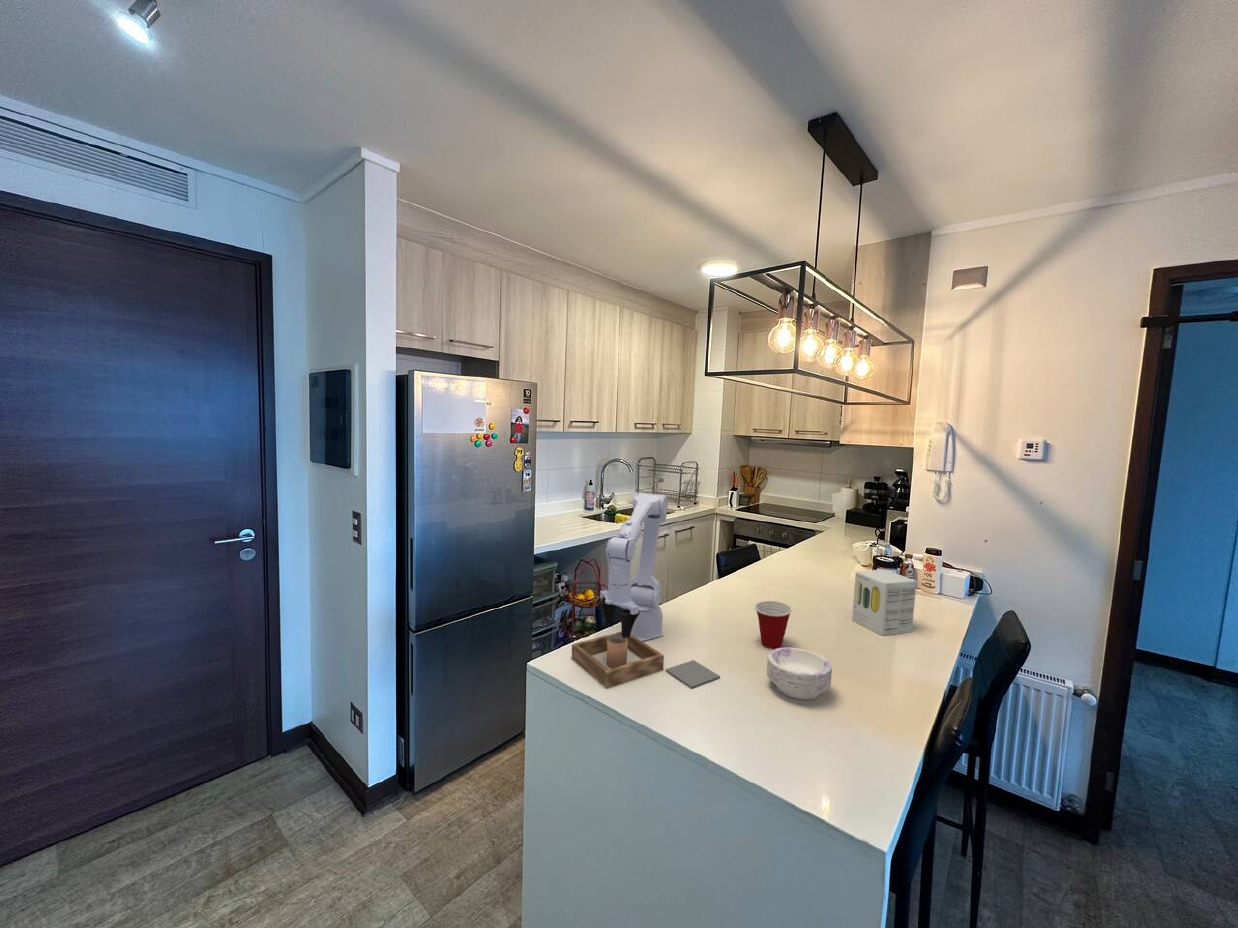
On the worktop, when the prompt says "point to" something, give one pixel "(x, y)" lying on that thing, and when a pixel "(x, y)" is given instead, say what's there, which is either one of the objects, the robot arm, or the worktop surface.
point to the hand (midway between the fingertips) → (617, 631)
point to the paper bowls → (799, 672)
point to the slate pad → (692, 674)
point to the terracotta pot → (616, 651)
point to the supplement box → (884, 601)
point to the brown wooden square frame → (621, 674)
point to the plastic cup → (772, 622)
